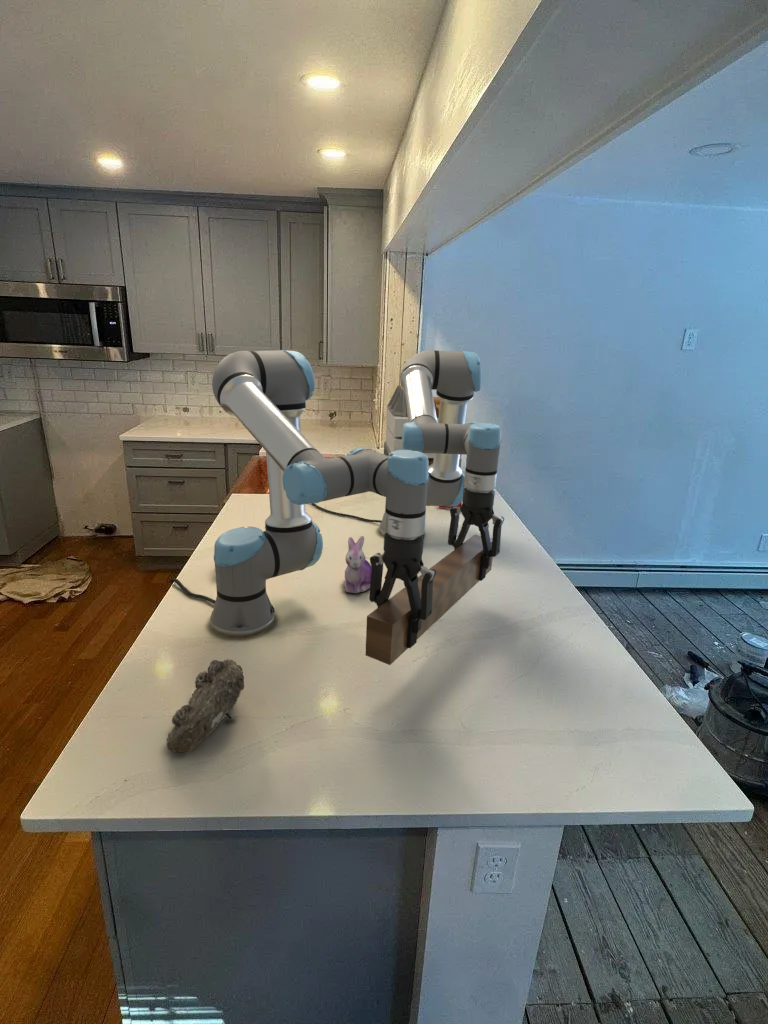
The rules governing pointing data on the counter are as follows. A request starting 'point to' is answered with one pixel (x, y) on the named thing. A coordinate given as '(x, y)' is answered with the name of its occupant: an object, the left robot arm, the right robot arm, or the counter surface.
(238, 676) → the fossil
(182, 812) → the counter surface
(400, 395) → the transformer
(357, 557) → the figurine
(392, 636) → the beam
